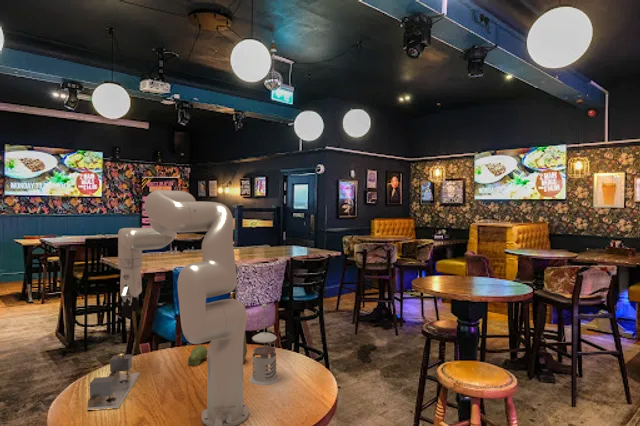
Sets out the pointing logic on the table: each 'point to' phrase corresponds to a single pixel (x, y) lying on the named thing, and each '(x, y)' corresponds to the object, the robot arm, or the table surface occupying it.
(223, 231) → the robot arm
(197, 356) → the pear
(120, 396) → the bolt plate
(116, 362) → the grey block with knob
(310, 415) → the table surface
